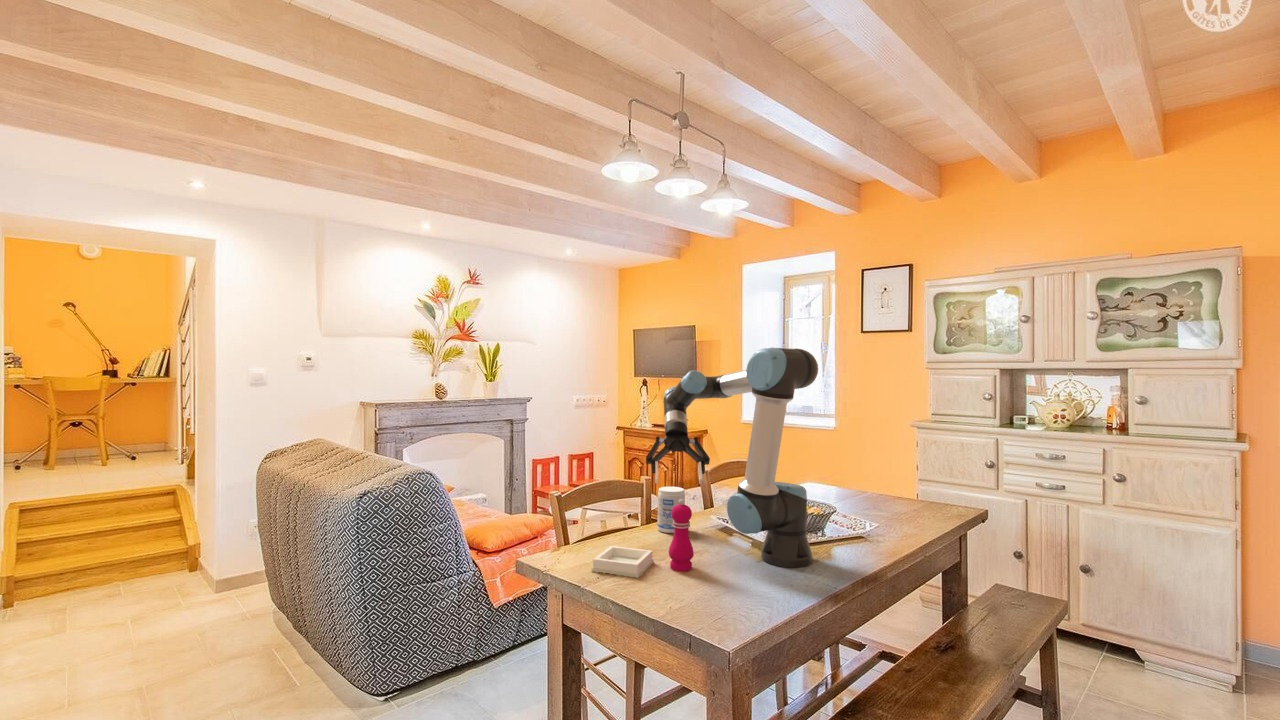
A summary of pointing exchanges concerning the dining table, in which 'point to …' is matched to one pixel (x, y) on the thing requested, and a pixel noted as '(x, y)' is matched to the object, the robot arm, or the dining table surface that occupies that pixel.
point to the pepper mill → (681, 538)
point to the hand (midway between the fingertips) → (678, 481)
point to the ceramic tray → (623, 561)
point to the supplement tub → (668, 507)
